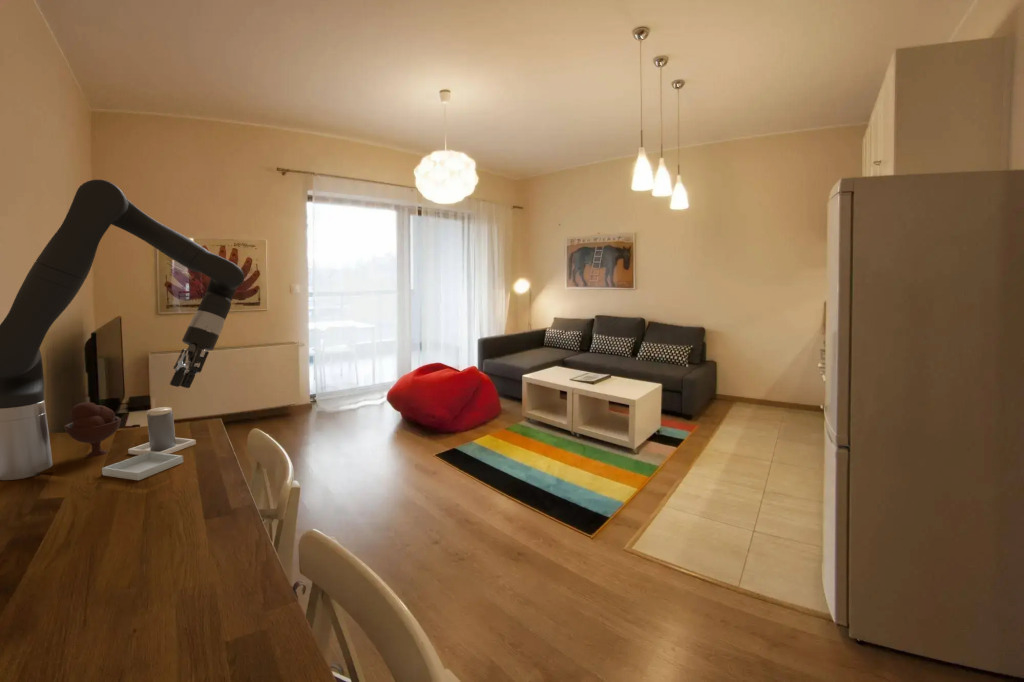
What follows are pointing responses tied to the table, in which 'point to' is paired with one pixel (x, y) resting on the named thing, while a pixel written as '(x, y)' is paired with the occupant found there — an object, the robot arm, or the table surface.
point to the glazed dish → (142, 465)
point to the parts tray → (180, 444)
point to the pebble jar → (161, 429)
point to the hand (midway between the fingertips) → (179, 386)
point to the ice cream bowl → (92, 425)
